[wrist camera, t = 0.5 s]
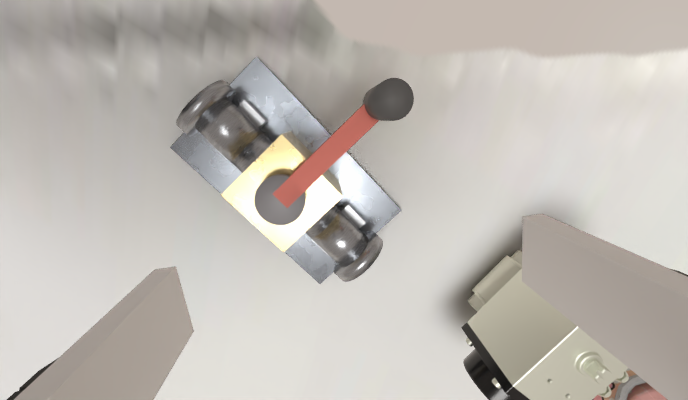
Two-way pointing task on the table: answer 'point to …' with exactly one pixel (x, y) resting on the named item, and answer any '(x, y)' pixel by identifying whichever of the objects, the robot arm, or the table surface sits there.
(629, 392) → the beverage can
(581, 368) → the ball valve
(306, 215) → the valve assembly
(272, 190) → the lever
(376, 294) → the table surface
